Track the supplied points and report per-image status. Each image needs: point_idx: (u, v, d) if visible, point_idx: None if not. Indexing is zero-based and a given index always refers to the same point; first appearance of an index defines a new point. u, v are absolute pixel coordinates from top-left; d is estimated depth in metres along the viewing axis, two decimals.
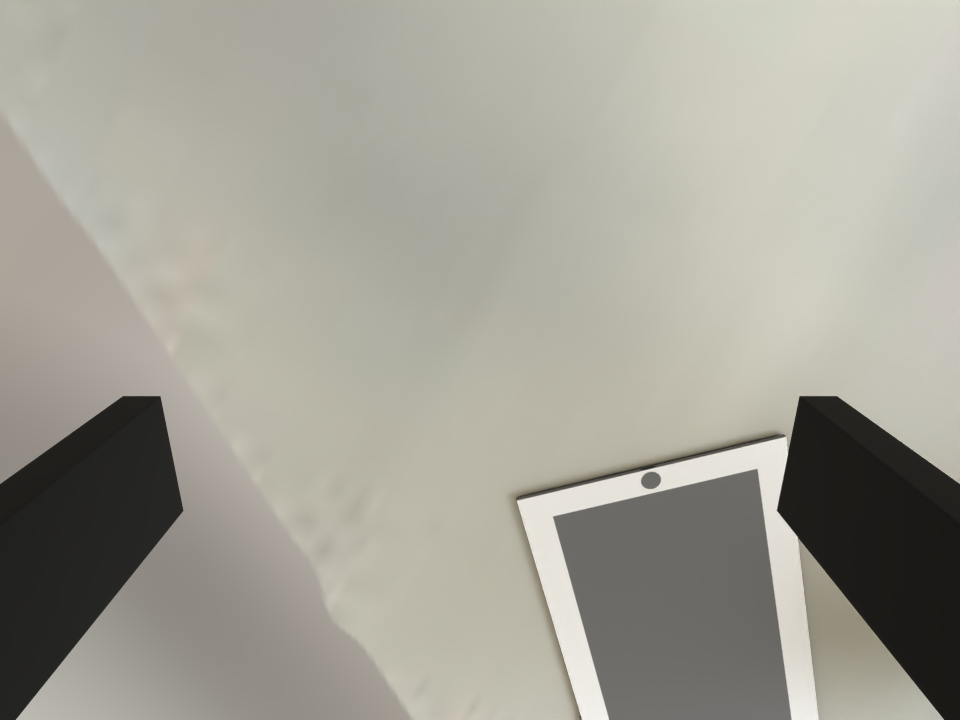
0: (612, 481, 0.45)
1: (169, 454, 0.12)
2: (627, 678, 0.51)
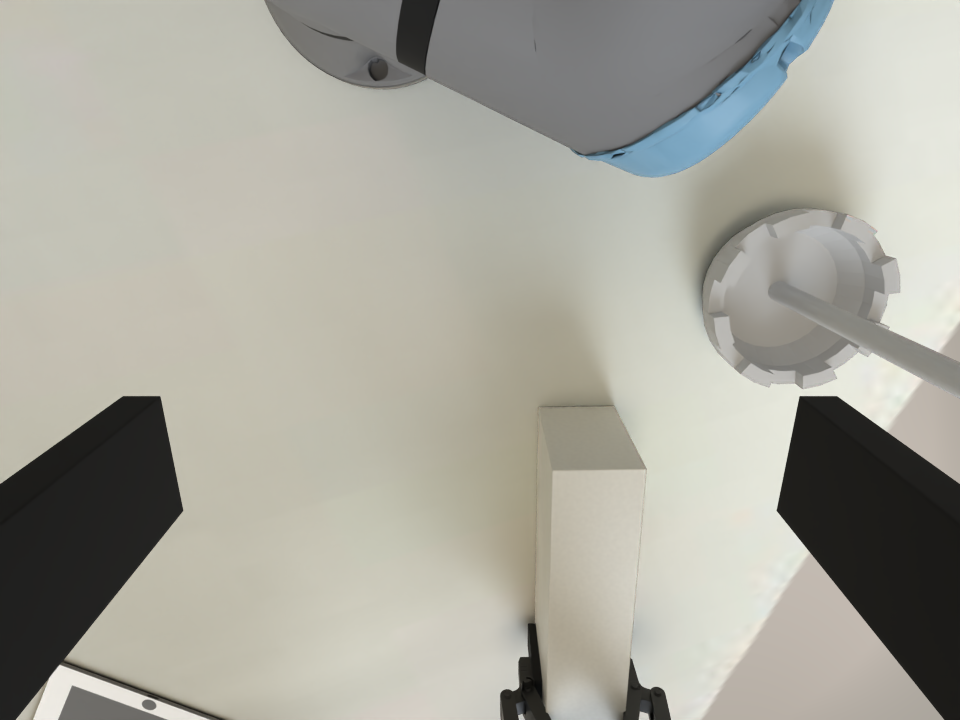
0: (124, 690, 0.61)
1: (169, 454, 0.12)
2: None
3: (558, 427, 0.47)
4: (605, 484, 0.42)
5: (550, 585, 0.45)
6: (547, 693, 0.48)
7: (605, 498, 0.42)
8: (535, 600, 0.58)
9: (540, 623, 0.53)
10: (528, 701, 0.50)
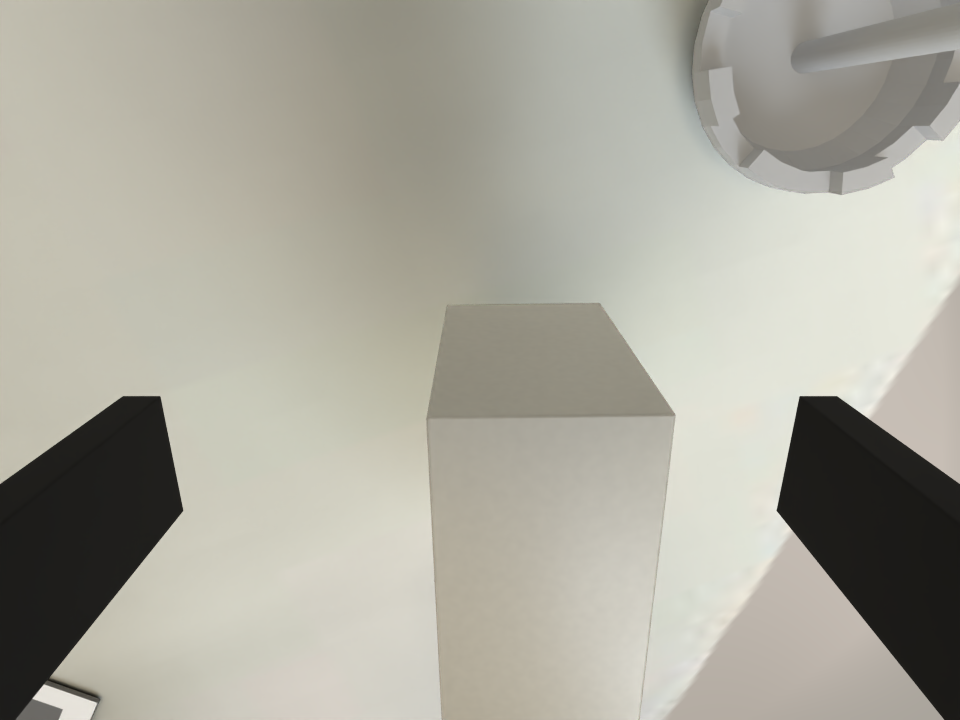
0: None
1: (169, 454, 0.12)
2: None
3: (476, 333, 0.22)
4: (568, 456, 0.16)
5: (442, 690, 0.19)
6: None
7: (568, 489, 0.16)
8: None
9: None
10: None
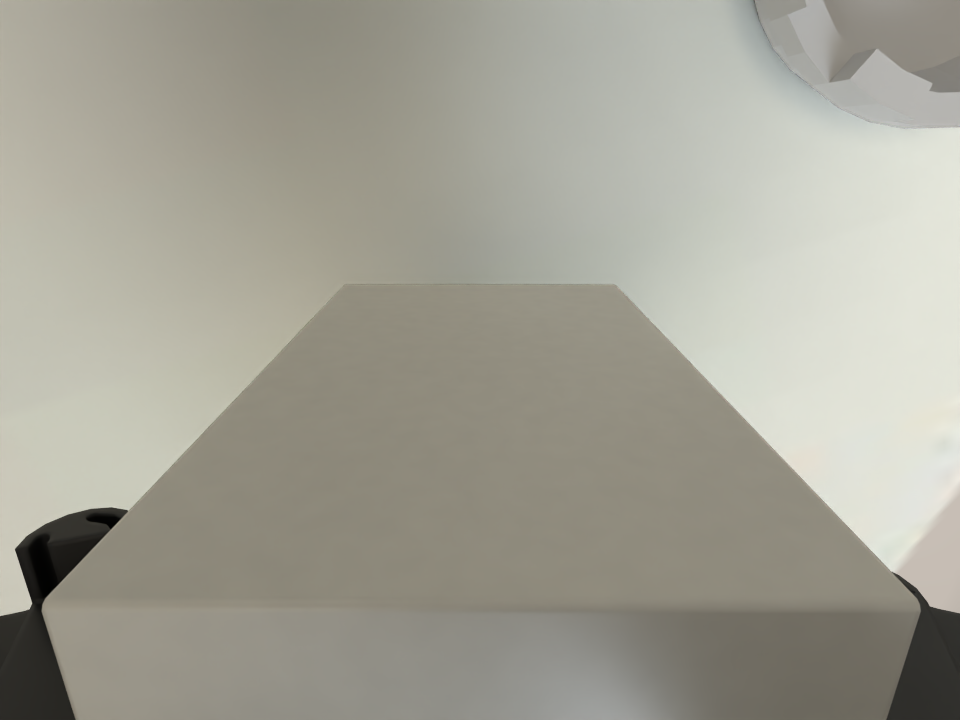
0: None
1: None
2: None
3: (368, 331, 0.11)
4: None
5: None
6: None
7: None
8: None
9: None
10: None
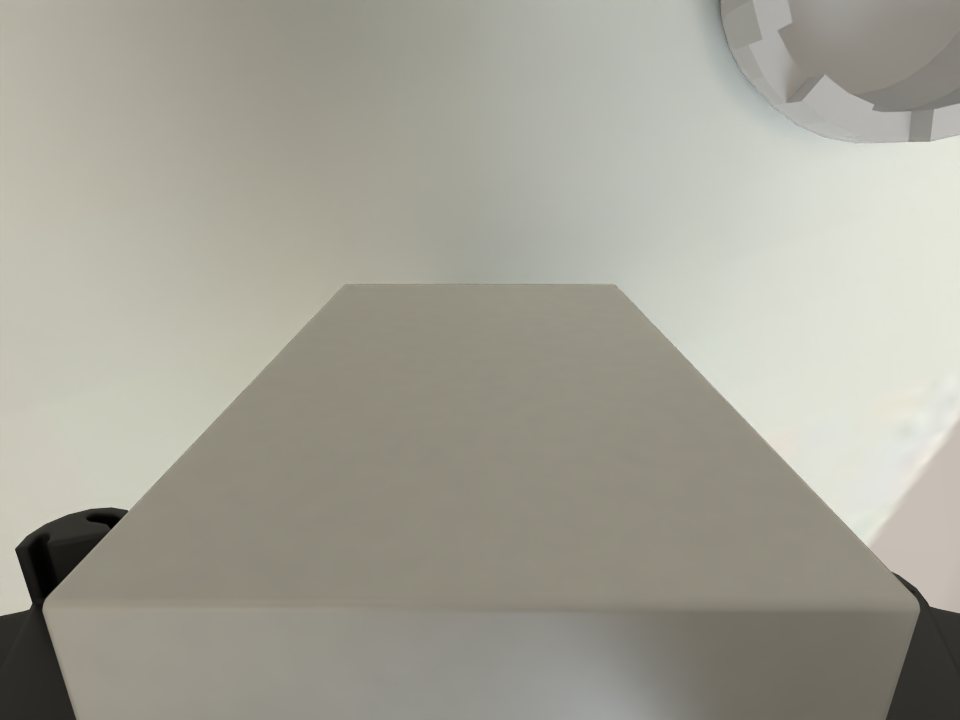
0: None
1: None
2: None
3: (368, 331, 0.11)
4: None
5: None
6: None
7: None
8: None
9: None
10: None
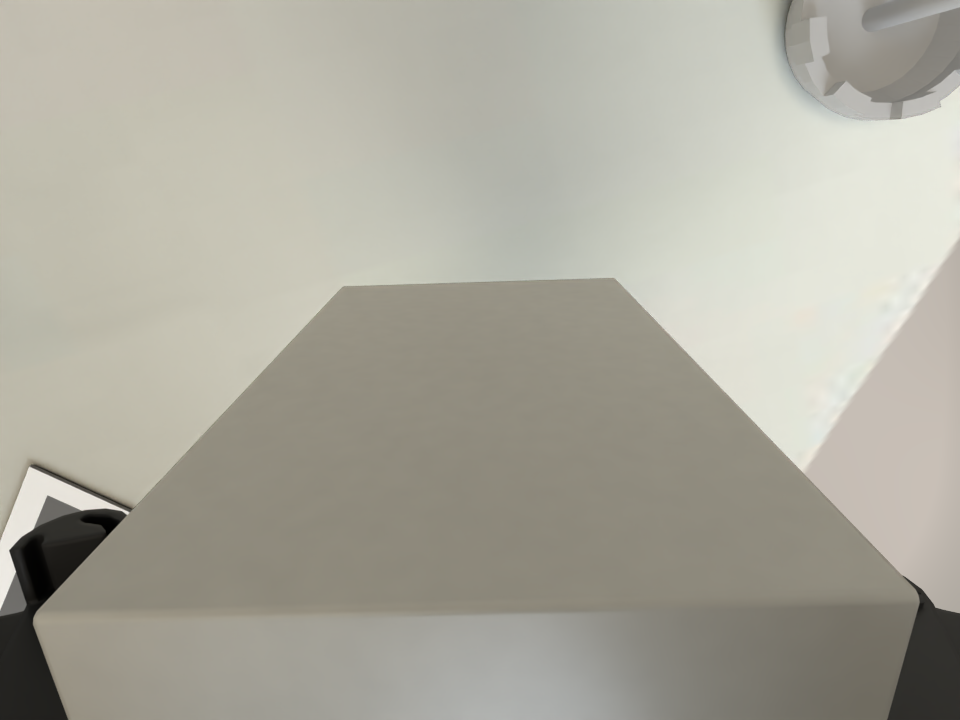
0: (106, 504, 0.55)
1: None
2: None
3: (365, 334, 0.11)
4: None
5: None
6: None
7: None
8: None
9: None
10: None
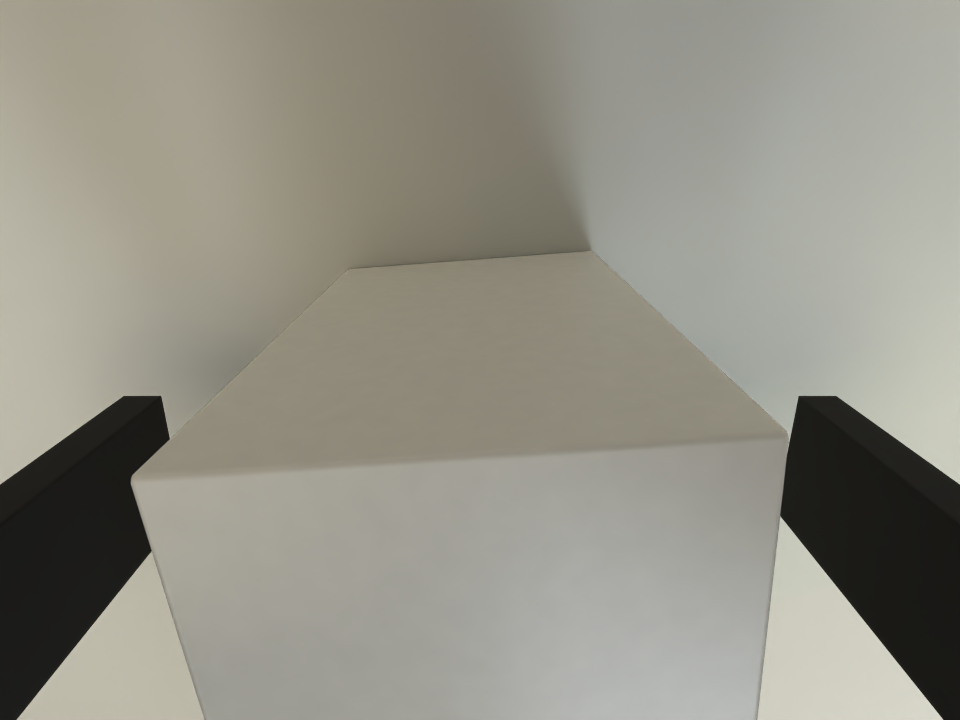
0: None
1: None
2: None
3: (369, 301, 0.12)
4: (512, 555, 0.06)
5: None
6: None
7: (520, 635, 0.07)
8: None
9: None
10: None
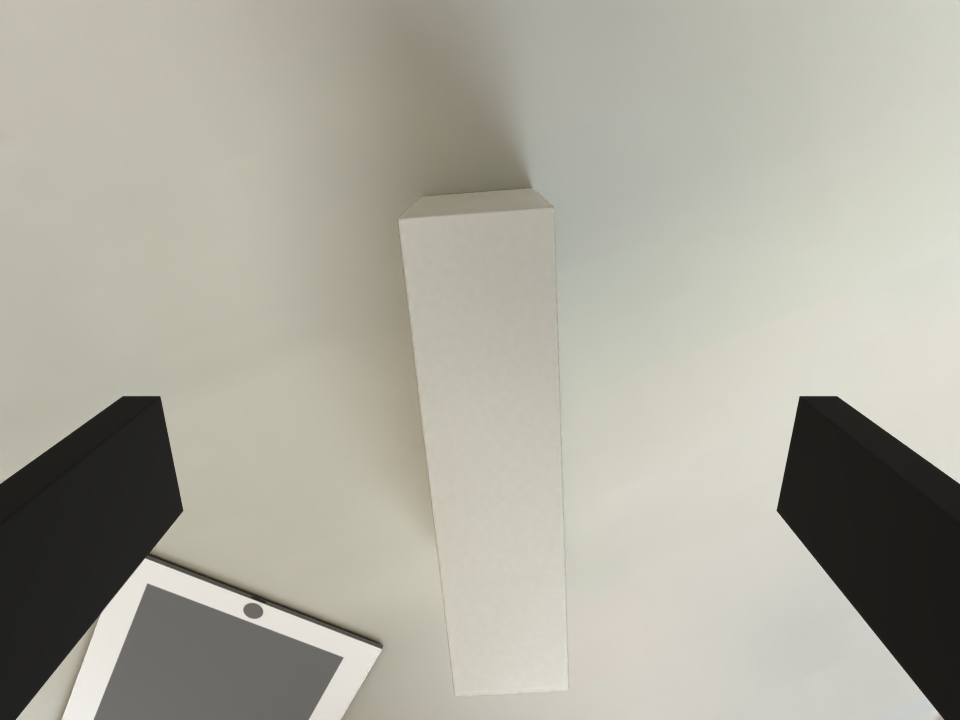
0: (220, 590, 0.44)
1: (169, 454, 0.12)
2: None
3: (438, 201, 0.31)
4: (489, 240, 0.25)
5: (424, 428, 0.28)
6: (445, 609, 0.32)
7: (491, 265, 0.26)
8: None
9: None
10: None
